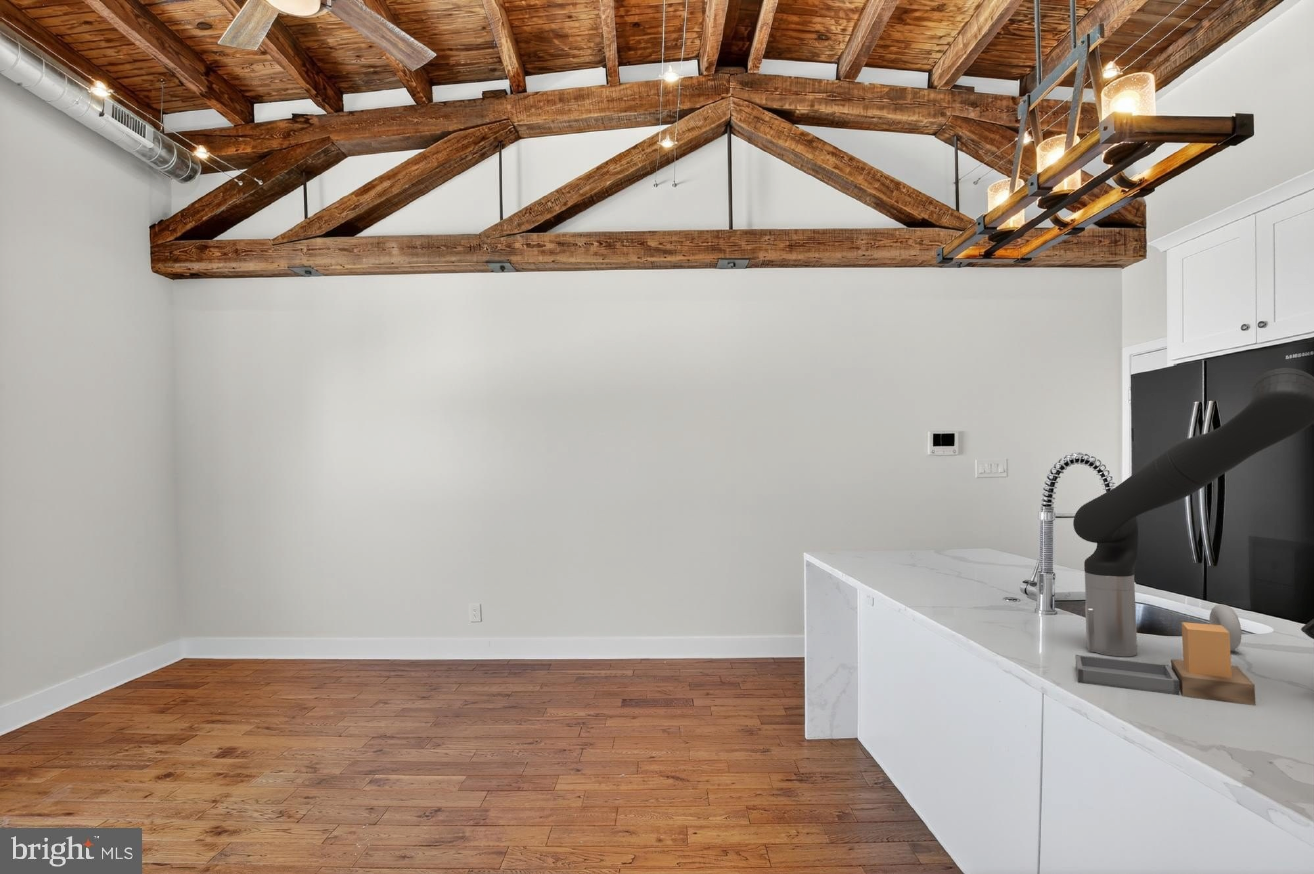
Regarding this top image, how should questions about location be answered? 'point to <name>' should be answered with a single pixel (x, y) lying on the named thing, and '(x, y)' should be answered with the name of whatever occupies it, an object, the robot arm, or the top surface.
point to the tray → (1127, 674)
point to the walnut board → (1215, 685)
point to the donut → (1227, 623)
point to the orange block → (1206, 649)
